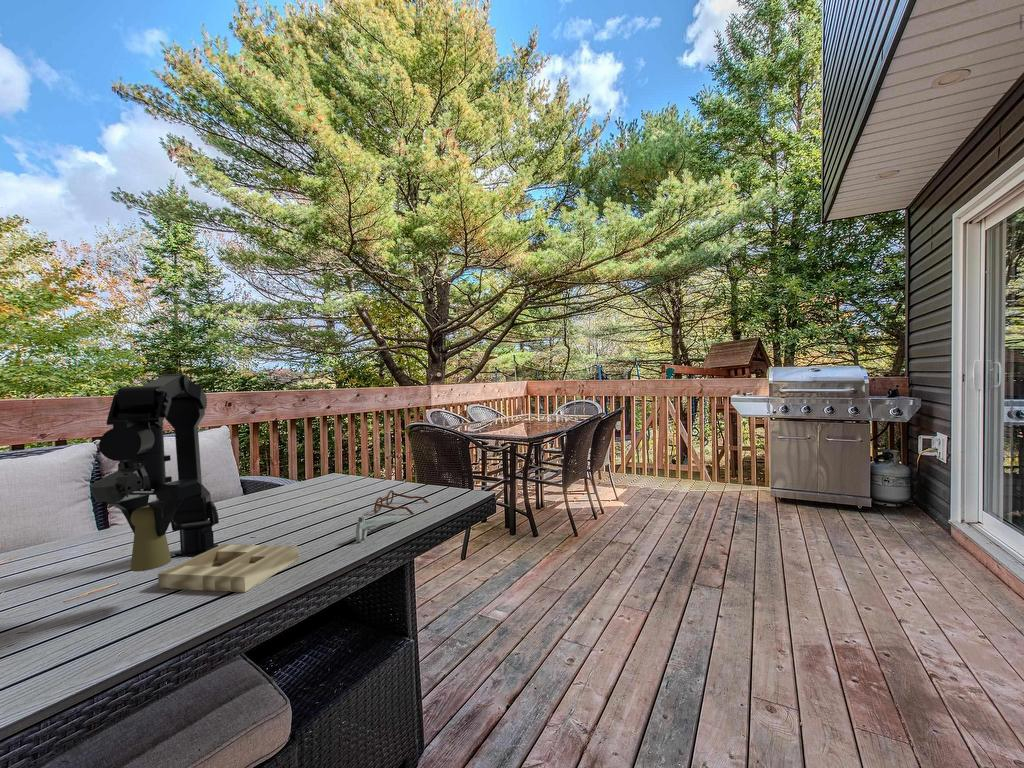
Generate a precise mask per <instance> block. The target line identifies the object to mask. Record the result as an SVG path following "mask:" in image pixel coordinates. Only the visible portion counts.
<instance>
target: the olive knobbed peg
mask: <svg viewBox="0 0 1024 768" xmlns="http://www.w3.org/2000/svg"><path fill="white" fill-rule="evenodd" d="M131 522H132V524H133V525H134V526H135V532H134V533H133V543H132V554H131V561H130V571H131V572H146V571H152V570H154V569H158V568H159V569H160V568H161V567H164V566H166V565H168V564H169V563H171V562H172V556H171V552H170V548H169V543H168V539H167V534H166V533H165V534H164V535H163V536H158V535H157V531H156V524H155V516H154V510H153V509H152V508H151V507H149V506H144V507H141V508H138V509H136V510H134V511H133V513H132V514H131Z"/></svg>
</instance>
